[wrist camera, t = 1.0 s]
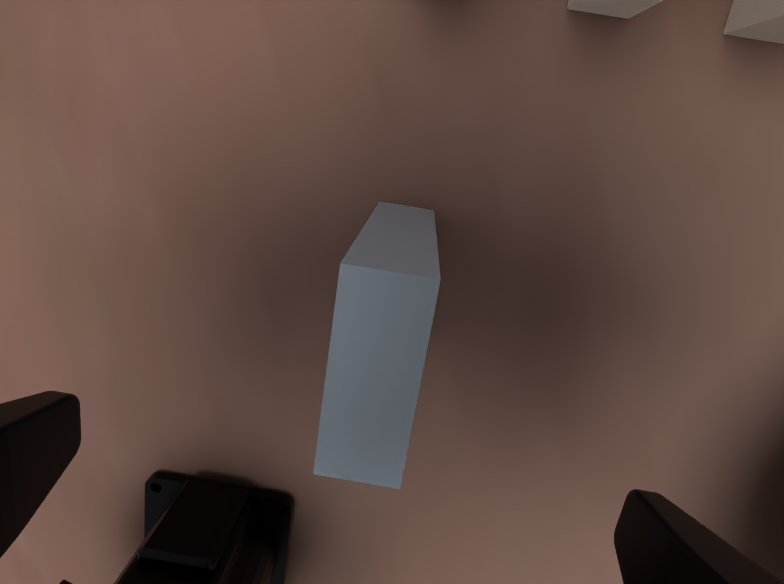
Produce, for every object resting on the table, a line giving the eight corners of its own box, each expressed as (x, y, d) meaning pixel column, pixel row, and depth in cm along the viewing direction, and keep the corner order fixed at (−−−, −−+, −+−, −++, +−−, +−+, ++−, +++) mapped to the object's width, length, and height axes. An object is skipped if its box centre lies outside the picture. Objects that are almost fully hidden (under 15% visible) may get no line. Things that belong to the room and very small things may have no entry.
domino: (411, 336, 20) (399, 489, 12) (360, 327, 20) (312, 473, 12) (434, 210, 19) (441, 280, 10) (379, 201, 19) (340, 262, 10)
